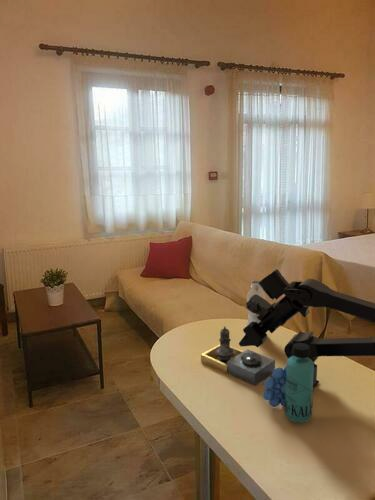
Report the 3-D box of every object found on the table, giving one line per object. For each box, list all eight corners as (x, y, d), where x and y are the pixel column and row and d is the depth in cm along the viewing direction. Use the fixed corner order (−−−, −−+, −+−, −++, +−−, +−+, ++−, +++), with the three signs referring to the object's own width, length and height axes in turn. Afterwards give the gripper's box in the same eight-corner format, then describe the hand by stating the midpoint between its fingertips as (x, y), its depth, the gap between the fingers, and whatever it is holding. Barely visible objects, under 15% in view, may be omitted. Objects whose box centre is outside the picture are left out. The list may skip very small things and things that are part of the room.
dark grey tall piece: (212, 362, 124) (211, 327, 121) (221, 354, 128) (221, 320, 125) (228, 368, 120) (228, 331, 117) (237, 359, 125) (237, 324, 122)
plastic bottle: (266, 339, 138) (268, 285, 133) (247, 339, 138) (248, 285, 134) (263, 331, 144) (264, 279, 140) (245, 331, 145) (245, 279, 140)
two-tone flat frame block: (275, 371, 117) (275, 356, 116) (254, 386, 110) (254, 370, 109) (222, 349, 132) (222, 335, 130) (201, 361, 124) (200, 347, 123)
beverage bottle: (290, 408, 100) (293, 336, 96) (316, 418, 96) (320, 343, 92) (279, 421, 96) (281, 346, 91) (305, 433, 91) (309, 355, 87)
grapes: (299, 394, 106) (301, 354, 103) (310, 410, 99) (312, 367, 97) (257, 398, 105) (258, 357, 102) (265, 414, 98) (266, 371, 95)
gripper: (275, 279, 119) (242, 307, 127) (250, 299, 104) (214, 329, 112) (300, 308, 117) (265, 334, 125) (278, 332, 101) (239, 360, 110)
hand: (246, 338), depth 118 cm, fingers open, 9 cm apart
